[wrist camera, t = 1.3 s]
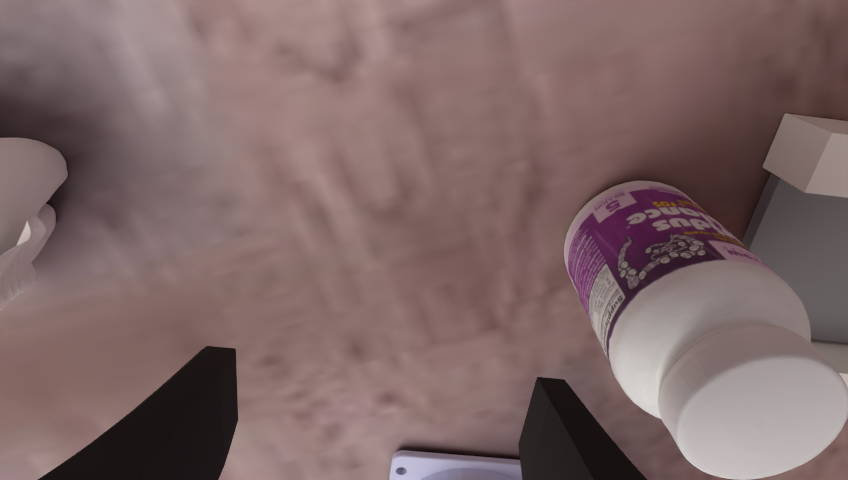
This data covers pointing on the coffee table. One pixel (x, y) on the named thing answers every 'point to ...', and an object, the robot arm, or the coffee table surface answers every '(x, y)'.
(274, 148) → the coffee table surface
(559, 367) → the coffee table surface
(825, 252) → the cradle
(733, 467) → the pill bottle
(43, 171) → the elephant figurine
